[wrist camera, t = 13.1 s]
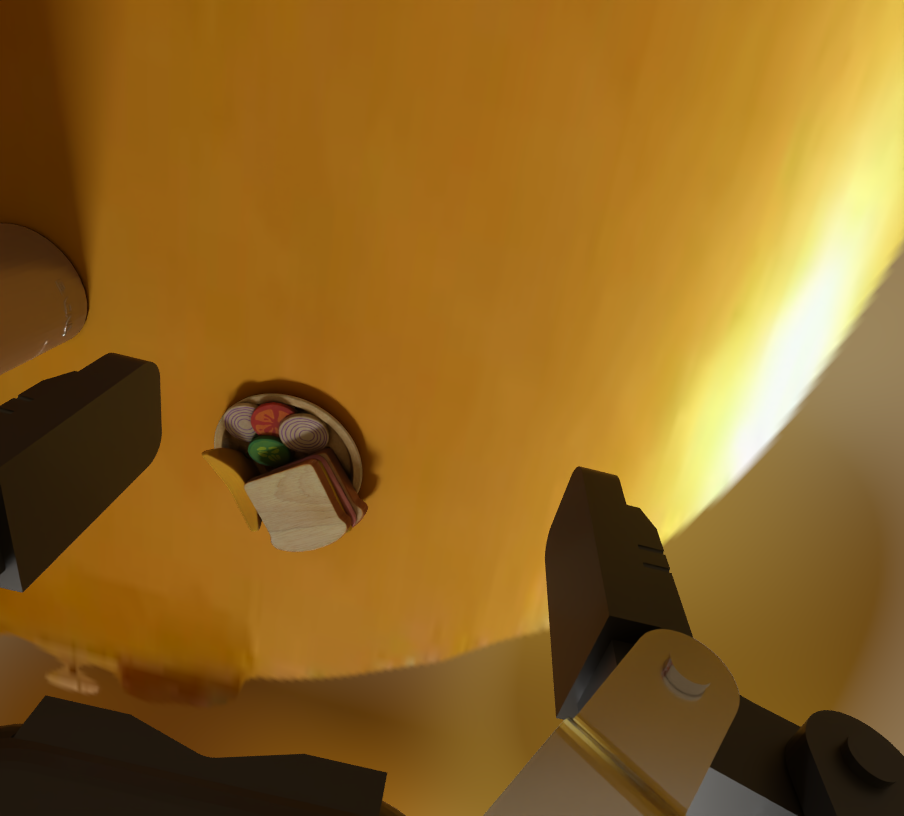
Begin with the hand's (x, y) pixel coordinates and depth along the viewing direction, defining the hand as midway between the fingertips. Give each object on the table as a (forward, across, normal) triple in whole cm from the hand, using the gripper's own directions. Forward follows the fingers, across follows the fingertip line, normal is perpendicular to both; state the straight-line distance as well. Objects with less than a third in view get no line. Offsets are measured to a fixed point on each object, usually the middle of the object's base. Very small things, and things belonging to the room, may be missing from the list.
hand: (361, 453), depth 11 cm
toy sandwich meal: (+30, +9, +23) cm, 39 cm away
